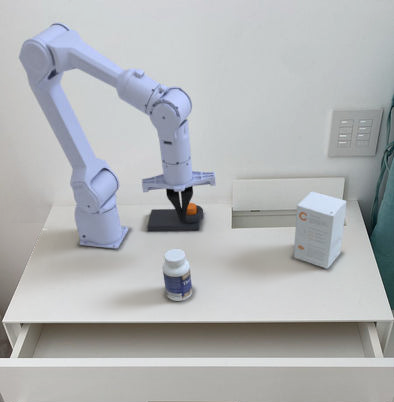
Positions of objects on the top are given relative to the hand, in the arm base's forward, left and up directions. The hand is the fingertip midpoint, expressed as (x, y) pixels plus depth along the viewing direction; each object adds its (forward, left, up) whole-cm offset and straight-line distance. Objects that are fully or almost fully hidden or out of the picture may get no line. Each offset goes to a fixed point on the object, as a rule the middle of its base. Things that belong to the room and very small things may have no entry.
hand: (182, 217), depth 120 cm
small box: (+28, +4, -10) cm, 30 cm away
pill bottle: (+2, -13, -10) cm, 16 cm away
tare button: (-2, +12, -7) cm, 14 cm away
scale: (-6, +12, -9) cm, 16 cm away
